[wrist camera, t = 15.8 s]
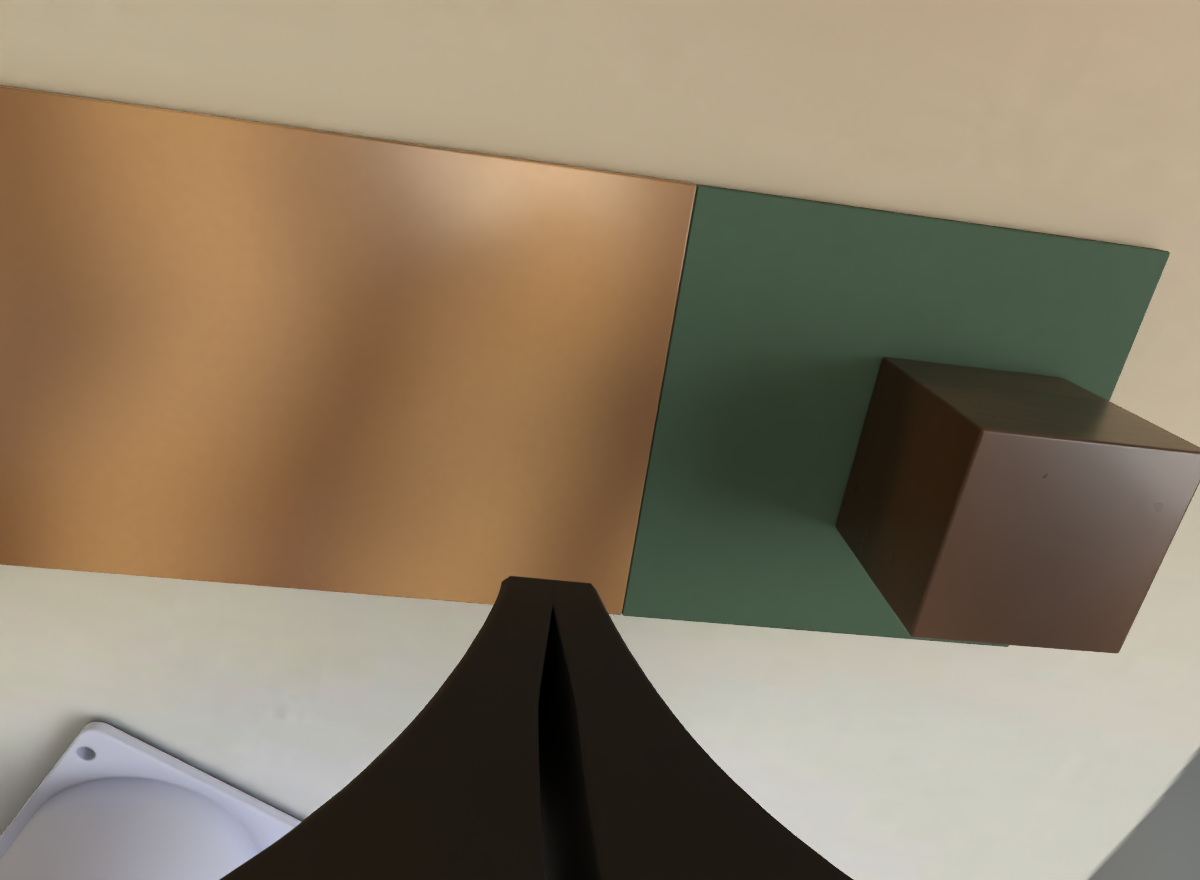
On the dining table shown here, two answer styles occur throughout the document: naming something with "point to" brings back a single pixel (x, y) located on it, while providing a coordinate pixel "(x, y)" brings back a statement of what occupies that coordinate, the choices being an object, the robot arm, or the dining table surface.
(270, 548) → the board
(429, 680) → the dining table surface
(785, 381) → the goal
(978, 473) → the cube
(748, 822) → the robot arm
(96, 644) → the dining table surface
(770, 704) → the dining table surface
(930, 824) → the dining table surface
